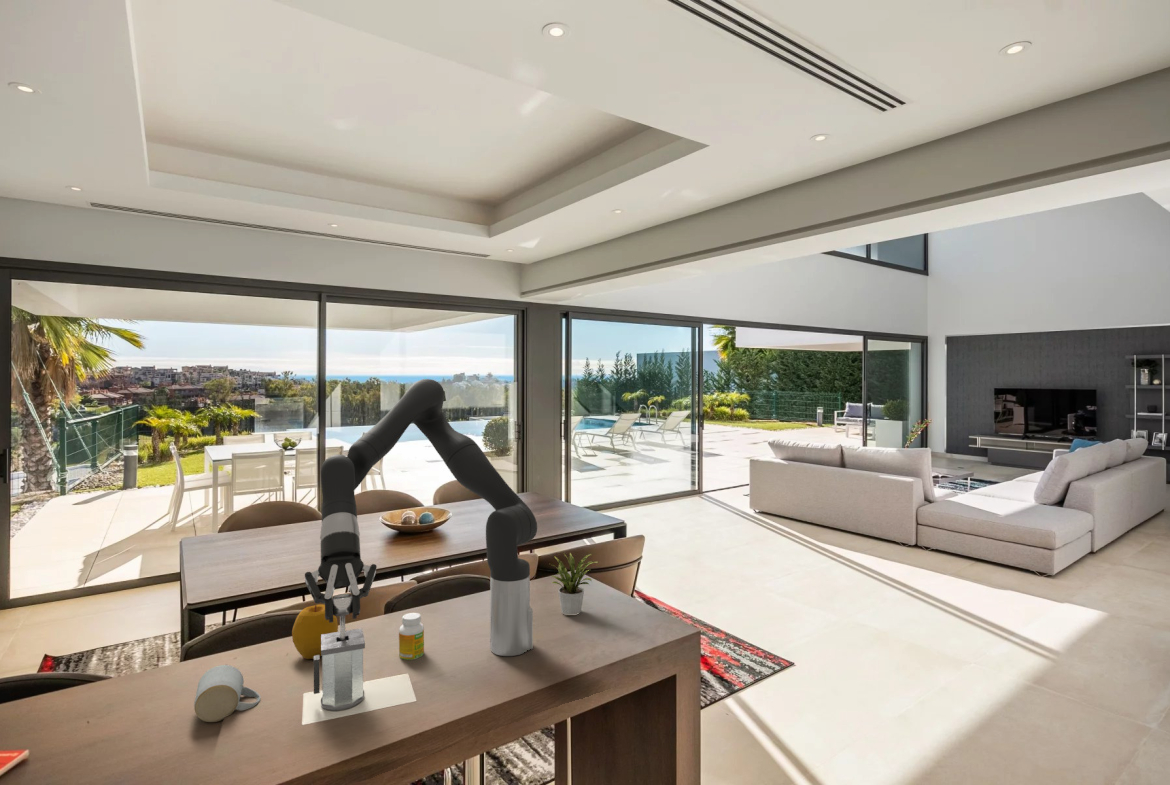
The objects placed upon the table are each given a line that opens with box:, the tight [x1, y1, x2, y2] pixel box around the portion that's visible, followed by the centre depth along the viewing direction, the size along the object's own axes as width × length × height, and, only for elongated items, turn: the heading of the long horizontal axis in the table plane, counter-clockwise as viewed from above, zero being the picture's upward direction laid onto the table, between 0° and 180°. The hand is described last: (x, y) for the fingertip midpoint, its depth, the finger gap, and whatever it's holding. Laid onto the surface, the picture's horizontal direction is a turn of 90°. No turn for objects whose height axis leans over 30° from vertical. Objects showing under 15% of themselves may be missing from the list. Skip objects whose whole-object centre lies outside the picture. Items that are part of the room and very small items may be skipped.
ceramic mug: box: [193, 664, 261, 723], centre depth 113 cm, size 11×8×8 cm
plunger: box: [332, 593, 352, 641], centre depth 115 cm, size 5×5×14 cm
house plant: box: [550, 552, 597, 614], centre depth 162 cm, size 14×14×16 cm
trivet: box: [301, 672, 417, 726], centre depth 116 cm, size 20×12×1 cm, turn 114°
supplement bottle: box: [398, 612, 425, 661], centre depth 135 cm, size 5×5×10 cm
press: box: [313, 627, 366, 711], centre depth 115 cm, size 9×8×12 cm
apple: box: [291, 603, 339, 660], centre depth 136 cm, size 10×10×12 cm
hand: (342, 618), depth 113 cm, fingers closed on plunger, 3 cm apart
